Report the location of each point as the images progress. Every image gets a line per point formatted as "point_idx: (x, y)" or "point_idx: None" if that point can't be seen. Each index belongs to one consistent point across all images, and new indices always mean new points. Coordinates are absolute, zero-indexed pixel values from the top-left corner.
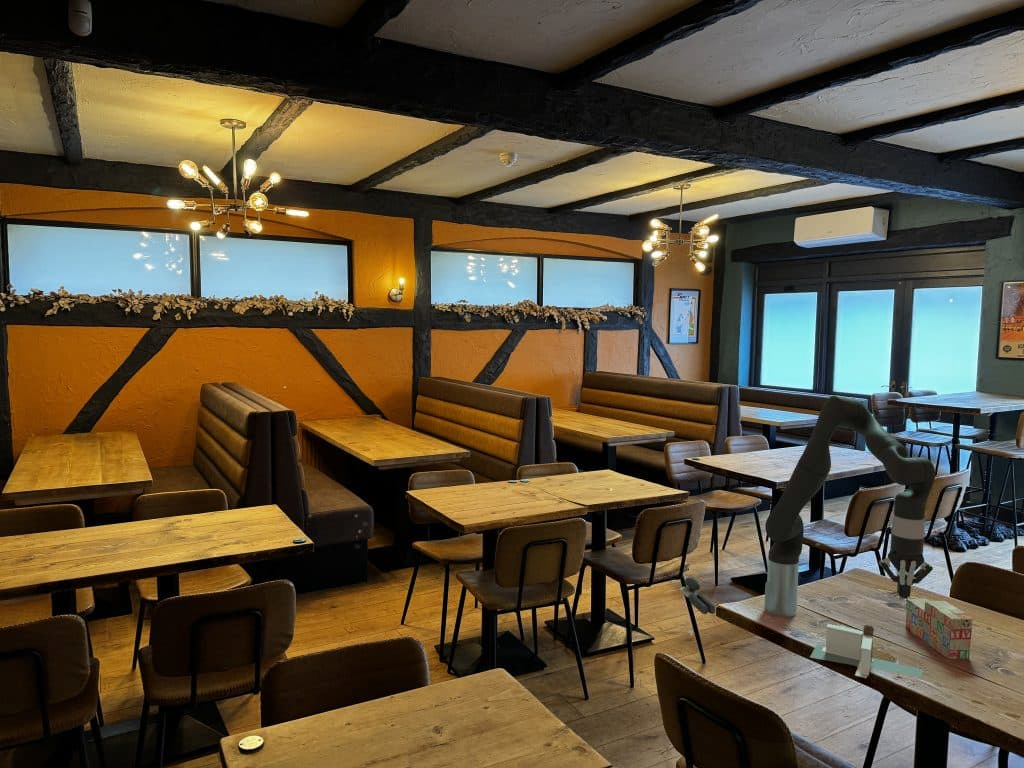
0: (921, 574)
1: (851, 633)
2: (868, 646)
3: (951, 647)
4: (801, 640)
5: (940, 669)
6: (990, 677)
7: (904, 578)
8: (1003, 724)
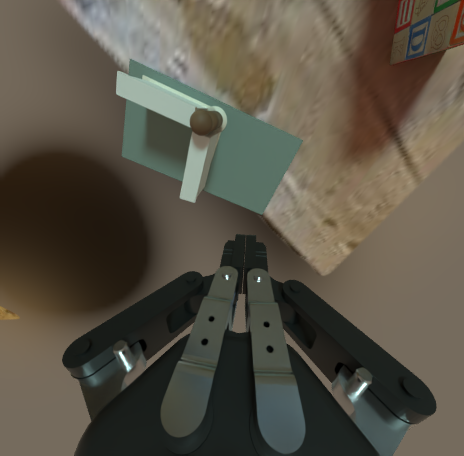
0: (314, 359)
1: (170, 117)
2: (193, 190)
3: (416, 57)
4: (100, 34)
5: (340, 124)
6: (418, 139)
7: (232, 321)
8: (327, 263)
